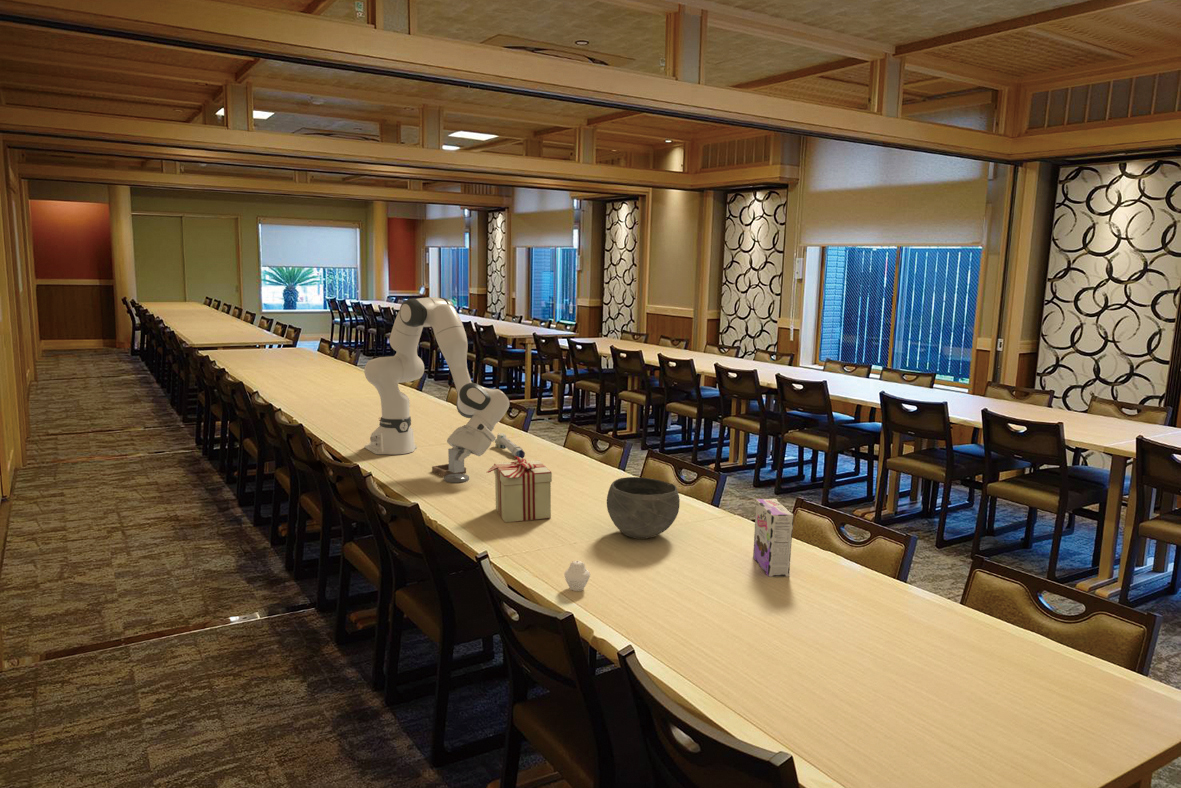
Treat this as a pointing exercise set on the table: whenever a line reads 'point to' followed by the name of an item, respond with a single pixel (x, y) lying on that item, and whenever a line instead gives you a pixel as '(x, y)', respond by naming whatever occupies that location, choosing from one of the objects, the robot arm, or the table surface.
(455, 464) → the steel block
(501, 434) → the grey flashlight
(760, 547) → the candy box
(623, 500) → the bowl
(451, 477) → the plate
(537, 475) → the gift box
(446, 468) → the socket
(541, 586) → the table surface
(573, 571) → the beige stone rounded piece
